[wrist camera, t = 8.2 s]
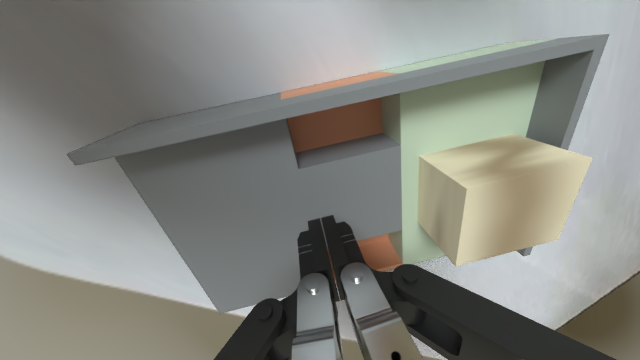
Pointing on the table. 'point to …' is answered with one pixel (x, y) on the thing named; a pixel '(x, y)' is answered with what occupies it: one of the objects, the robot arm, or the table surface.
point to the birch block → (497, 195)
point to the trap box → (337, 158)
